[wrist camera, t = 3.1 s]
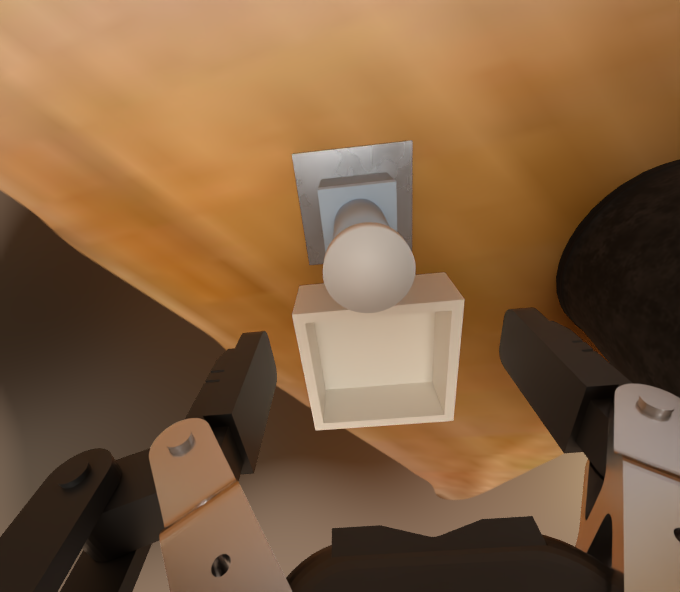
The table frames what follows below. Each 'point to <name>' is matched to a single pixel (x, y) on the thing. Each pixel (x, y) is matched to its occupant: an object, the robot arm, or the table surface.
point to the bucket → (630, 278)
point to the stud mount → (351, 163)
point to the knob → (364, 243)
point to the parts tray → (381, 356)
